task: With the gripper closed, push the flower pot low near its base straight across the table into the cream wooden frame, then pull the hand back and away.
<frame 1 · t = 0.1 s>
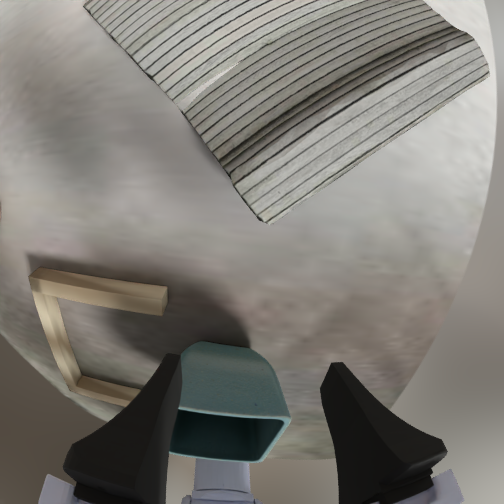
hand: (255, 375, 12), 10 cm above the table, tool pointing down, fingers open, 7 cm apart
flower pot: (222, 361, 25), on the table
cream wooden frame: (114, 346, 24), on the table
mat: (293, 9, 14), on the table
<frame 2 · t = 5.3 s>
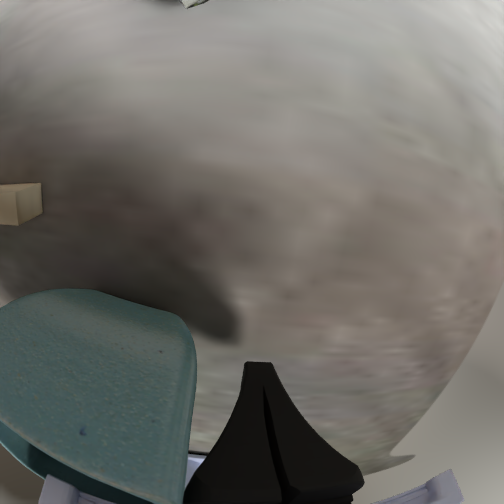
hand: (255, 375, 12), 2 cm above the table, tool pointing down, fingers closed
flower pot: (137, 337, 13), on the table, touching gripper
cream wooden frame: (2, 303, 12), on the table
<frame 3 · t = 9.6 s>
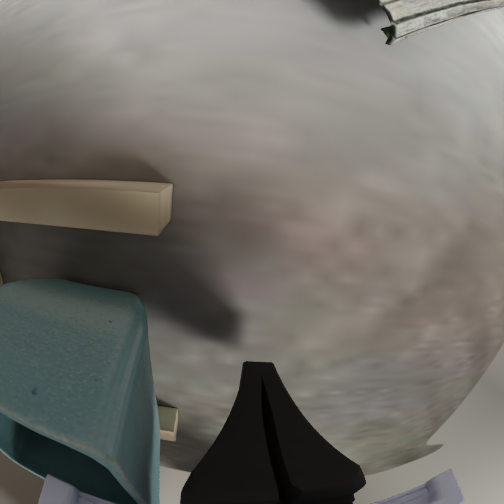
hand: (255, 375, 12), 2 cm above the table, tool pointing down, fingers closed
flower pot: (104, 322, 13), on the table
cream wooden frame: (74, 322, 13), on the table
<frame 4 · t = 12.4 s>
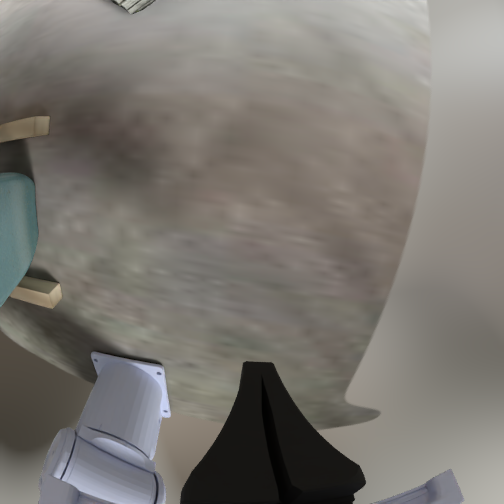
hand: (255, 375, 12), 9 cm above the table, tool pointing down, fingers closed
flower pot: (21, 208, 17), on the table
cream wooden frame: (7, 211, 17), on the table
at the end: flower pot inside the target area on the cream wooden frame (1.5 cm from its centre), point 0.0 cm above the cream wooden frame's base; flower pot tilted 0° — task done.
